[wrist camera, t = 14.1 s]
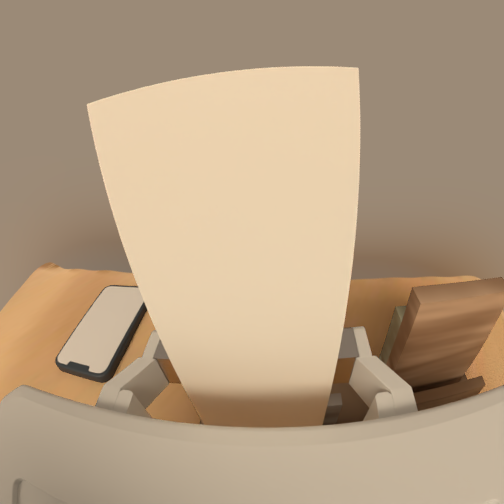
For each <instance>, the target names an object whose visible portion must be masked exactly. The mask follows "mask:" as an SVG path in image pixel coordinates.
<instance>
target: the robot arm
mask: <svg viewBox="0 0 504 504" xmlns="http://www.w3.org/2000/svg"><path fill="white" fill-rule="evenodd" d="M169 383H179V384H182V383H181V381H180V379H179V377H178V375H177V373H176V371H175V369H174V367H173V365H172V363H171V361H170V359H169V357H168V355H167V353H166V351H165V349H164V346H163V344H162V342H161V340H160V338H159V335H158V333H157V331H156V330H154V331H153V332H152V333H151V335H150V338H149V340H148V343H147V346H146V348H145V351H144V353H143V356H142V358H141V357H139V358H138V359H136V360H135V361H134V362H132V363H131V364H130V365H129V366H127V367H126V368H125V369H124V370H122V371H121V372H120V373H119V374H117V375H116V376H115V377H113V378H112V379H111V380H110V381H108V382H107V383H106V384H105V385H104V386H103V388H102V391H101V393H100V396H99V398H98V400H97V403H96V405H95V406H91V405H87V404H84V403H80V402H77V401H73V400H70V399H66V398H63V397H60V396H57V395H54V394H51V393H48V392H45V391H42V390H39V389H36V388H34V387H31V386H28V385H21V386H19V387H17V388H16V389H14V390H13V391H12V392H10V393H9V394H8V395H6V396H5V397H4V398H3V399H2V401H1V403H0V504H504V385H502V386H499V387H497V388H494V389H492V390H489V391H486V392H483V393H480V394H477V395H474V396H471V397H468V398H465V399H462V400H459V401H455V402H452V403H448V404H445V405H441V406H437V407H433V408H429V409H425V410H421V411H418V409H417V406H416V402H415V398H414V395H413V391H412V387H411V386H410V385H409V384H408V383H406V382H405V381H404V380H403V379H402V378H401V377H399V376H398V375H397V374H396V373H395V372H394V371H393V370H391V369H390V368H389V367H388V366H387V365H386V364H385V363H383V362H382V361H381V360H380V359H379V358H378V357H377V356H372V353H371V349H370V345H369V341H368V338H367V334H366V331H365V328H364V327H363V326H362V327H352V328H351V327H349V328H343V333H342V338H341V344H340V349H339V354H338V359H337V364H336V369H335V374H334V379H333V383H332V384H337V383H349V384H350V385H351V387H352V388H353V389H354V390H355V391H356V393H357V394H358V395H359V396H360V397H361V399H362V400H363V401H364V402H365V403H366V404H367V406H368V407H369V410H368V412H367V414H366V416H365V418H364V420H363V421H360V422H352V423H343V424H333V425H321V426H306V427H274V428H260V427H229V426H213V425H201V424H191V423H182V422H174V421H166V420H160V419H153V418H152V417H151V416H150V415H149V413H148V412H147V411H146V410H145V409H146V408H147V407H148V406H149V405H150V404H151V403H152V401H153V400H154V399H155V398H156V397H157V396H158V395H159V394H160V393H161V392H162V391H163V390H164V389H165V388H166V387H167V385H168V384H169Z"/></svg>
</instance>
